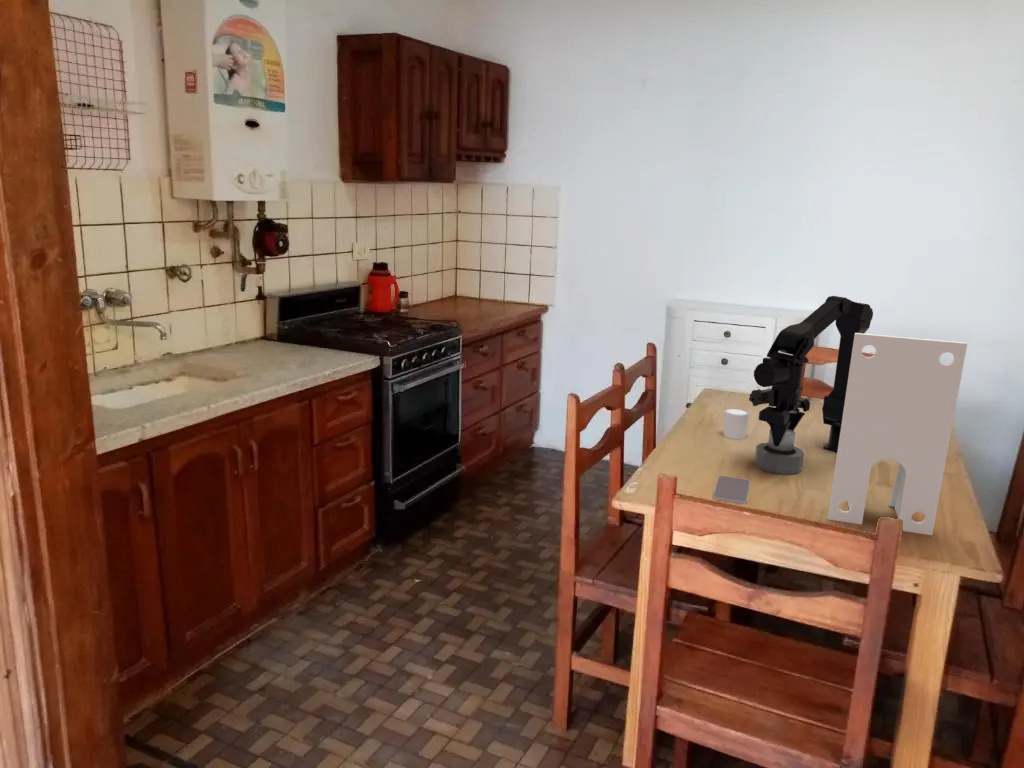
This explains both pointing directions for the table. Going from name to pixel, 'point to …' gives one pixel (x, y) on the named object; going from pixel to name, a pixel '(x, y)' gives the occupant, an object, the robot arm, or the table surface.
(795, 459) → the grey ring
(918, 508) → the white bracket plate
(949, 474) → the table surface
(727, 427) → the white cylinder
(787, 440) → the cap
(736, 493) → the grey square plate
